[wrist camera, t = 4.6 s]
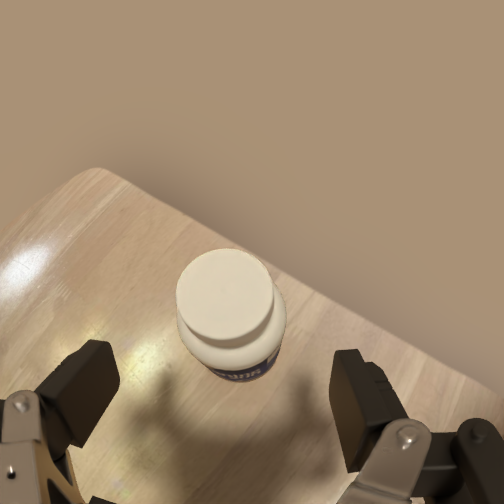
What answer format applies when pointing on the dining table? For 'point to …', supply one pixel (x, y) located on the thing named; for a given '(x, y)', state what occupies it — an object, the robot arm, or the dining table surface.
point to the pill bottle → (230, 314)
